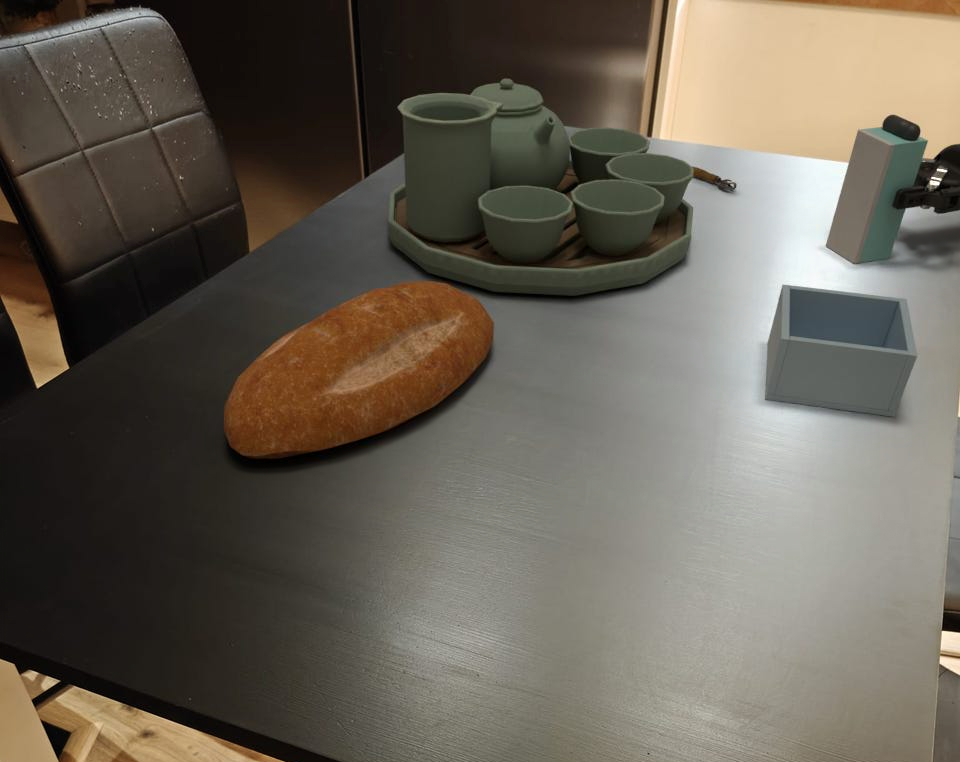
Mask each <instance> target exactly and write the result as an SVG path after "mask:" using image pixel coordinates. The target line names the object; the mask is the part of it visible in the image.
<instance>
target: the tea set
mask: <svg viewBox="0 0 960 762" xmlns="http://www.w3.org/2000/svg"><path fill="white" fill-rule="evenodd" d="M543 104H544V99H543V96H542V94H541V93H540V92H539V91H538V90H537V89H535V88H533V87H531V86H529V85H525V84H519V83H515V82H514V81H513V80H512V79H510V78H503V79H501V81H499V82H494V83H487V84H484V85H481V86H478V87H476V88H474V89H473V91H472V92H471V93H470V94H465V93H450V92H449V93H448V92H437V93H427V94H417V95H415V96H412V97H408V98H406V99H403V100H402V101H401V102H400V103H399V105H397V109H398V111H399V112H400V114H401V115H402V125H403V126H402V131H403V132H402V133H403V160H404V183H403V184H401V185H400V186H398V187H396V188H395V189H393V190H392V191H391V192H390V193H389V197H388V200H389V201H388V221H387V225H388V227H387V228H388V237H389V239H390V241H391V244H392V245H393V247H395V248H396V249H397V250H399V252H401V253H403V254H404V255H405V256H406V257H407V258H409V259H410V260H412V261H413V262H414V263H415V264H417V265H418V266H419V267H420V268H422V269H423V270H424V271H425V272H427V273H429V274H432V275H435V276H438V277H443V278H446V279H449V280H453V281H455V282H460V283H463V284H466V285H470V286H474V287H477V288H481V289H484V290H487V291H490V292H494V293H515V294H533V295H534V294H535V295H551V296H552V295H553V296H571V297H572V296H575V297H576V296H581V295H586V294H591V293H592V294H593V293H597V292H603V291H609V290H614V289H620V288H625V287H626V288H627V287H631V286H637V285H642V284H643V285H644V284H645V283H646V282H648V281H650V280H652V279H654V278H655V277H656V276H659V275H660V274H661V273H663V272H664V271H666V270H668V269H669V268H671V267H672V266H674V265H676V264H678V263H680V262H681V261H683V260H684V258H685V257H686V255H687V254H688V252H689V249H690V246H691V245H690V243H691V239H692V230H693V217H694V206H692V205H691V204H690V203H689V202H687V200H685V199H684V195H685V193H686V190H687V188H688V185H689V184H690V182H691V181H692V180H693V178H694V175H693V174H694V168H693V167H694V166H692V165H690V164H689V163H688V162H687V161H685V160H683V159H680V158H676V157H673V156H670V155H666V154H658V153H649V152H648V151H649V149H650V145H651V144H650V143H651V141H650V140H649V139H648V138H647V137H645V136H644V135H642V134H641V133H638V132H635V131H631V130H628V129H623V128H615V127H588V128H584V129H580V130H575V131H573V132H572V133H570V135H568V132H567V129H566V128H565V125H564V124H563V123H564V122H562V121H561V119H560V118H559V117H558V116H557V114H556V113H555V112H553V110H550V109H549V108H547V107H546V106H544V105H543Z"/></svg>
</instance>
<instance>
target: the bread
mask: <svg viewBox="0 0 960 762" xmlns="http://www.w3.org/2000/svg"><path fill="white" fill-rule="evenodd" d="M494 331H495V322H494V321H493V319H492V317H491V316H490V314H489V313H488V311H487V310H486V308H485V306H484V305H483V303H481V301H480V300H479V299H478V298H477V297H475V296H472V295H470V294H469V293H466V292H464V291H462V290H460V289H459V288H456V287H454V286H452V285H450V284H448V283H445V282H439V281H432V280H423V281H421V280H419V281H404V282H400V283H397V284H394V285H391V286H388V287H380V288H379V287H378V288H377V287H376V288H374V289H372V290H369V291H367V292H365V293H362V294H361V295H358V296H356V297H353V298H352V299H349V300H347V301H345V302H343V303H341V304H339V305H337V306H336V307H333V308H331V309H329V310H327V311H326V312H324V313H322V314H321V315H319V316H317V317H316V318H314V319H312V320H311V321H309V322H307V323H305V324H303V325H301V326H299V327H298V328H295V329H293V330H292V331H289V332H287V333H286V334H283V336H281V337H280V338H279V339H278V340H276V341H275V342H273V344H271V345H270V346H269V347H268V348H266V349H265V351H263V352H262V353H261V354H260V355H258V356H257V357H256V359H255V360H253V362H252V363H251V364H250V365H249V366H248V367H247V368H246V369H244V371H243V372H242V373H240V375H239V376H238V377H237V379H236V381H235V383H234V384H233V387H232V389H231V392H230V394H229V395H228V397H227V399H226V401H225V403H224V405H223V430H224V433H225V436H226V439H227V442H228V445H229V447H230V448H232V450H234V451H235V452H237V453H238V454H239V455H241V456H243V457H247V458H249V459H255V460H257V459H260V460H262V459H263V460H264V459H265V460H267V459H268V460H270V459H271V460H275V459H276V460H277V459H278V460H279V459H283V458H287V457H293V456H298V455H299V456H300V455H303V454H308V453H309V454H310V453H314V452H319V451H320V452H321V451H324V450H328V449H332V448H335V447H338V446H342V445H346V444H350V443H353V442H356V441H359V440H362V439H366V438H369V437H371V436H374V435H375V436H376V435H379V434H381V433H383V432H386V431H388V430H391V429H393V428H395V427H398V426H399V425H401V424H403V423H405V422H407V421H409V420H410V419H413V418H414V417H417V416H418V415H420V414H423V413H424V412H426V411H428V410H430V409H431V408H434V407H436V406H437V405H439V403H441V402H442V401H444V399H446V398H447V397H448V396H449V395H450V394H452V393H453V392H454V391H455V390H456V389H458V388H459V387H460V386H462V385H463V384H464V383H465V382H466V381H467V380H469V378H470V377H471V375H472V374H473V373H474V372H475V371H476V370H477V368H478V367H479V366H480V365H481V363H483V362H484V360H485V359H486V358H487V356H488V353H489V351H490V349H491V347H492V344H493V341H494V333H495V332H494Z"/></svg>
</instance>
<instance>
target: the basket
mask: <svg viewBox="0 0 960 762" xmlns="http://www.w3.org/2000/svg"><path fill="white" fill-rule="evenodd" d="M775 308H776V309H775V313H774V316H773V321H772V325H771V329H770V332H769V336H768V339H767V349H766V350H767V351H766V353H767V354H766V372H765V393H764V394H765V395H764V399H765V400H769V401H775V402H781V403H789V404H790V403H791V404H798V405H804V406H805V405H806V406H811V407H818V408H819V407H820V408H827V409H833V410H841V411H846V412H847V411H848V412H856V413H862V414H868V415H869V414H870V415H878V416H883V417H884V416H885V417H891V418H895V416H896V414H897V410H898V408H899V405H900V402H901V400H902V397H903V395H904V392H905V389H906V387H907V384H908V381H909V379H910V376H911V373H912V371H913V368H914V366H915V363H916V361H917V357H918V353H917V348H916V347H917V346H916V343H915V338H914V337H915V336H914V332H913V331H914V330H913V327H912V322H911V316H910V315H911V314H910V311H909V305H908V299H907V298H902V297H899V298H898V297H893V296H892V297H891V296H884V295H875V294H867V293H858V292H850V291H842V290H834V289H825V288H817V287H809V286H801V285H792V284H791V285H790V284H782V285H781V289H780V293H779V296H778V301H777V304H776V307H775Z"/></svg>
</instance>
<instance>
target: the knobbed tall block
mask: <svg viewBox="0 0 960 762" xmlns="http://www.w3.org/2000/svg"><path fill="white" fill-rule="evenodd" d="M921 133H922V132H921V127H920V125H919V124H917V123H915V122H912V121H910V120H908V119H905V118H903V117H901V116H899V115H897V114H890V115H887V116H886V117H885V118H884V120H883V121H882V125H881V126H879V127H870V128H862V129H861V128H860V129H858V130H857V132H856V135H855V139H854V143H853V147H852V149H851V153H850V157H849V160H848V163H847V168H846V171H845V175H844V179H843V182H842V185H841V189H840V193H839V197H838V200H837V203H836V208H835V211H834V214H833V217H832V222H831V226H830V228H829V233H828V236H827V240H826V244H825V247H826V248H828V249H830V250H831V251H833V252H835V253H836V254H838V255H839V256H841V257H843V258H844V259H845V260H847V261H849V262H850V263H852V264H862V263H869V262H875V261H880V260H886V259H887V260H888V259H890V258H891V255H892V252H893V248H894V245H895V243H896V239H897V236H898V234H899V230H900V227H901V225H902V221H903V219H904V215H905V213H906V209H899V210H897V209H895V208H893V206H892V204H893V201H894V198H895V195H896V192H897V191H898V190H899V189H902V188H910V187H913V185H914V182H915V179H916V176H917V173H918V170H919V167H920V164H921V161H922V158H924V155H925V151H926V149H927V145H928V143H929V140H928V139H926V138H924V137H922V136H921Z"/></svg>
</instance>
